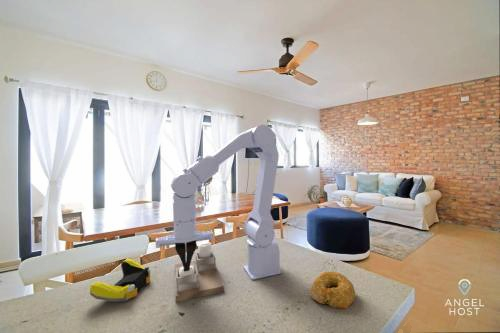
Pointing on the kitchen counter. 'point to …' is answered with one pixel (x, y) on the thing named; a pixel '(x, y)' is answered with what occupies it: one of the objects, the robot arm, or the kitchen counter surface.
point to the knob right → (204, 250)
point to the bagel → (333, 290)
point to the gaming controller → (123, 283)
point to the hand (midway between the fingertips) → (186, 269)
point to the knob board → (198, 279)
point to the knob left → (185, 273)
